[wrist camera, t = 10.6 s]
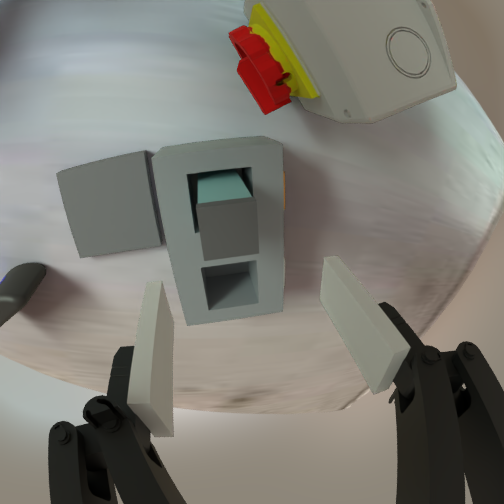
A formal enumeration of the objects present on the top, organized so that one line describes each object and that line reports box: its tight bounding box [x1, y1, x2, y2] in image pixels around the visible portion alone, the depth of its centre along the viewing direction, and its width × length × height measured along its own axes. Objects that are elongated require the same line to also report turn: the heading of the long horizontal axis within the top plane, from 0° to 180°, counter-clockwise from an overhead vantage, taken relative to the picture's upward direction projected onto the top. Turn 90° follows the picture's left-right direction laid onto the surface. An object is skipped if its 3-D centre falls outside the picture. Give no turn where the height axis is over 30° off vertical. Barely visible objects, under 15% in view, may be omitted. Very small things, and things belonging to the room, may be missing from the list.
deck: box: [56, 150, 162, 258], centre depth 31 cm, size 12×12×2 cm
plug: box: [196, 168, 259, 261], centre depth 26 cm, size 4×4×14 cm
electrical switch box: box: [229, 0, 457, 124], centre depth 19 cm, size 14×15×20 cm
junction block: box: [151, 136, 285, 326], centre depth 32 cm, size 20×12×8 cm, turn 3°
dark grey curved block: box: [0, 263, 46, 327], centre depth 29 cm, size 16×5×9 cm, turn 115°
